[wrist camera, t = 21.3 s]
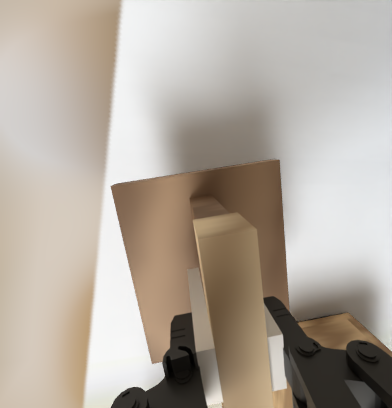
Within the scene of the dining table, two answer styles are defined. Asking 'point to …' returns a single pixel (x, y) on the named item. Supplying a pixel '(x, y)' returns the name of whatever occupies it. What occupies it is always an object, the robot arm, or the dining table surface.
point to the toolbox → (329, 343)
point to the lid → (210, 263)
